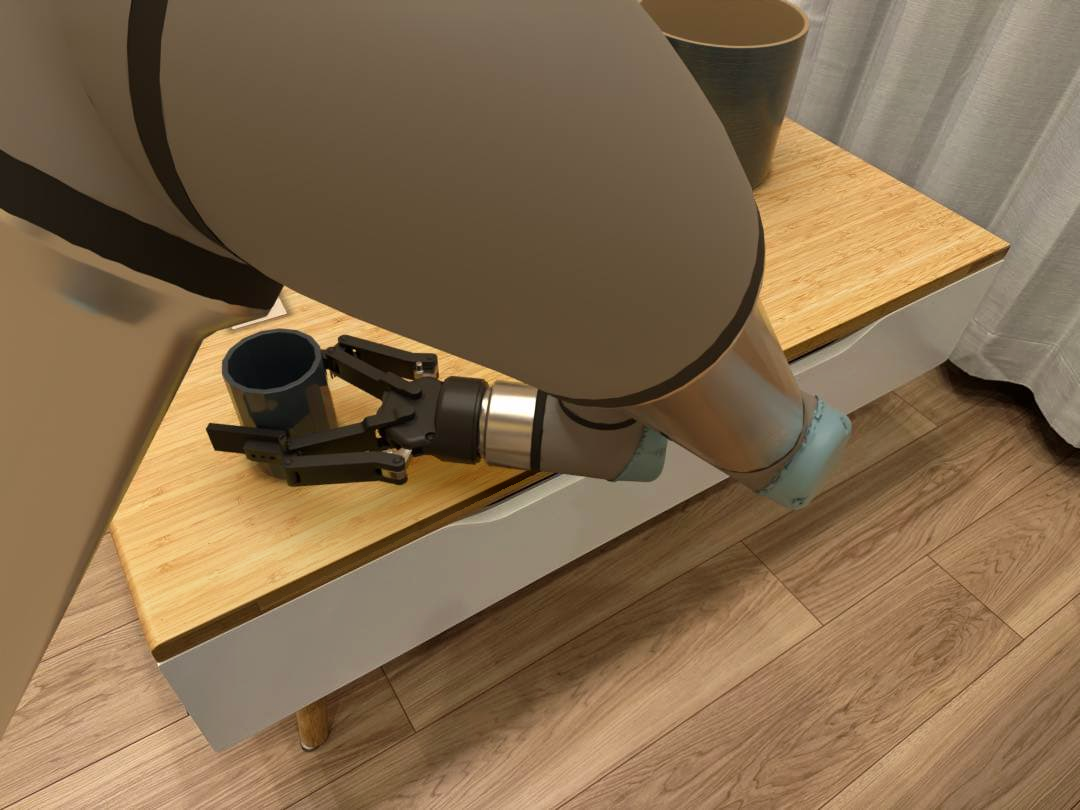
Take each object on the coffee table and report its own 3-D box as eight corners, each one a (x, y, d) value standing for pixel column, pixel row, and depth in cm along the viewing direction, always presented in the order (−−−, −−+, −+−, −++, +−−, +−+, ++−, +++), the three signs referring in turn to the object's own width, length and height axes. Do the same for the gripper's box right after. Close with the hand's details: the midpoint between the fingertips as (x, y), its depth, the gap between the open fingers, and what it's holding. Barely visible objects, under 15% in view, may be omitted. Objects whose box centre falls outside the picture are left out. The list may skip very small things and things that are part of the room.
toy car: (237, 318, 85) (232, 301, 83) (219, 276, 90) (213, 259, 88) (275, 307, 86) (270, 290, 84) (255, 267, 91) (250, 250, 90)
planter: (750, 124, 121) (783, -16, 107) (789, 200, 106) (833, 48, 91) (609, 124, 120) (622, -18, 105) (628, 201, 104) (646, 47, 90)
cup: (326, 484, 70) (302, 398, 62) (240, 474, 70) (205, 387, 62) (351, 420, 75) (333, 333, 67) (271, 411, 76) (243, 324, 68)
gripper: (464, 552, 62) (194, 521, 64) (505, 369, 77) (286, 347, 79) (460, 495, 57) (165, 462, 58) (504, 310, 72) (269, 287, 74)
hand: (234, 396), depth 69 cm, fingers open, 9 cm apart
